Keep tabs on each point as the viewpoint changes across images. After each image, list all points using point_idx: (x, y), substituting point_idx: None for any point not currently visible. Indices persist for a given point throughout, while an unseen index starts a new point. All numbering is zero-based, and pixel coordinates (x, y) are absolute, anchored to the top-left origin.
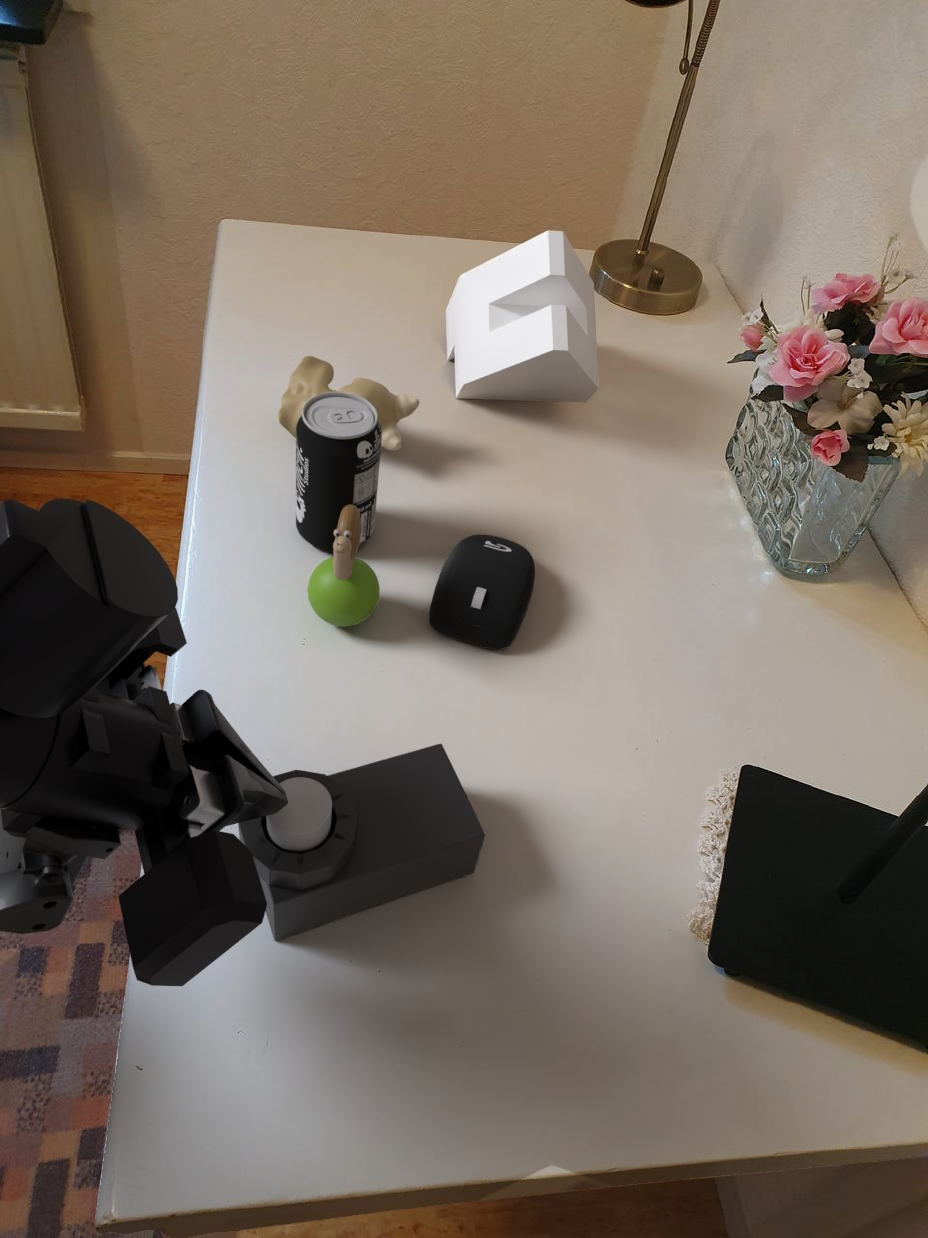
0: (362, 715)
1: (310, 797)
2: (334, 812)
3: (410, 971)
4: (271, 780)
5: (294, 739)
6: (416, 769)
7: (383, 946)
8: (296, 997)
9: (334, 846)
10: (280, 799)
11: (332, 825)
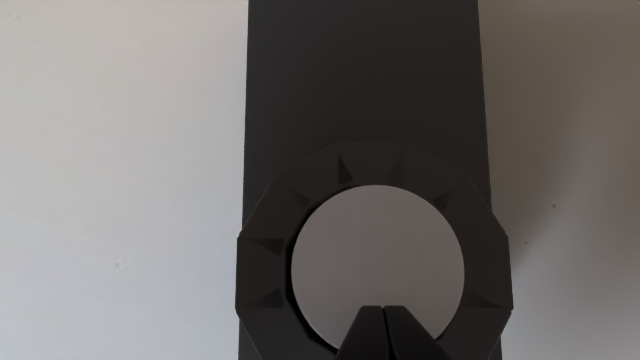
0: (93, 81)
1: (366, 234)
2: None
3: (567, 161)
4: (377, 357)
5: (94, 208)
6: (292, 3)
7: (517, 187)
8: (560, 344)
9: (465, 215)
10: (434, 340)
11: None
